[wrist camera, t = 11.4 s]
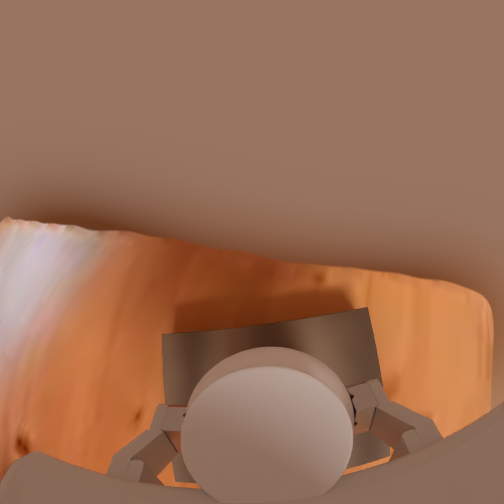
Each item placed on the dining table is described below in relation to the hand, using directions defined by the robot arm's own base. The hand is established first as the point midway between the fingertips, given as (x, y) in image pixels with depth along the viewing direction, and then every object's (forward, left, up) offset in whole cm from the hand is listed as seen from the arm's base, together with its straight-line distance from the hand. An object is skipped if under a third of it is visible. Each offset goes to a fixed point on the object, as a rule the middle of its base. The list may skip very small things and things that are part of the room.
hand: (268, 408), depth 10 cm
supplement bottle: (0, -1, -8) cm, 8 cm away
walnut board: (0, -1, -12) cm, 12 cm away
